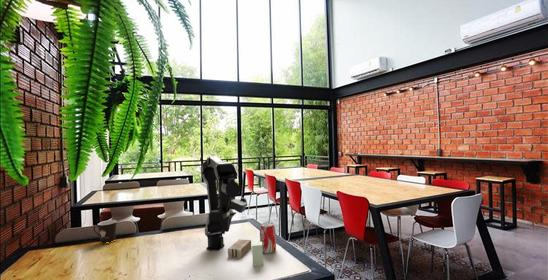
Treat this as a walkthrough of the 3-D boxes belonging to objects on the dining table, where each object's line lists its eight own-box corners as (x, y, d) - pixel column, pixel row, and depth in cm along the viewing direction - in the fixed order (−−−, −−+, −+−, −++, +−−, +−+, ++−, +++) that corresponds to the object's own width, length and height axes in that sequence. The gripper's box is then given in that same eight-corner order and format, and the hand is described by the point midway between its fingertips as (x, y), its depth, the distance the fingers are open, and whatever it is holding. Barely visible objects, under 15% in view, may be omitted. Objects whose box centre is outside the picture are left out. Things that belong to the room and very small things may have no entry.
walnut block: (227, 248, 122) (239, 239, 134) (228, 256, 122) (239, 246, 134) (240, 249, 120) (251, 240, 132) (241, 257, 120) (251, 247, 132)
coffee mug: (120, 240, 150) (120, 221, 151) (103, 245, 143) (103, 225, 143) (109, 237, 157) (108, 219, 157) (92, 242, 149) (91, 223, 150)
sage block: (252, 266, 112) (252, 245, 112) (253, 261, 116) (252, 242, 116) (263, 265, 112) (262, 245, 112) (262, 261, 116) (262, 241, 116)
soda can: (274, 254, 122) (273, 226, 122) (258, 254, 124) (257, 226, 124) (277, 248, 129) (276, 222, 129) (262, 248, 131) (261, 221, 131)
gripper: (233, 198, 104) (235, 240, 104) (252, 189, 122) (253, 225, 122) (206, 197, 108) (208, 238, 108) (228, 189, 126) (230, 224, 125)
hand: (227, 231), depth 116 cm, fingers closed
